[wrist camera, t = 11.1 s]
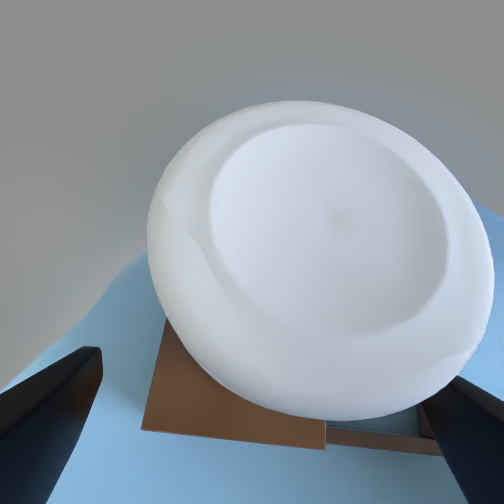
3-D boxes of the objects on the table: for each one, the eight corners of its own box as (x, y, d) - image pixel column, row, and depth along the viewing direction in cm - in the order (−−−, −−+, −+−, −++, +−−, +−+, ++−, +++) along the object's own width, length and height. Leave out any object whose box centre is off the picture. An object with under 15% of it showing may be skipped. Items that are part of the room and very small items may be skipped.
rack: (433, 452, 18) (487, 468, 15) (156, 421, 17) (140, 430, 14) (415, 309, 22) (453, 294, 18) (187, 278, 21) (180, 255, 18)
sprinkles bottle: (288, 311, 17) (474, 114, 5) (282, 400, 15) (573, 461, 3) (209, 299, 17) (186, 61, 4) (192, 387, 15) (68, 391, 2)
